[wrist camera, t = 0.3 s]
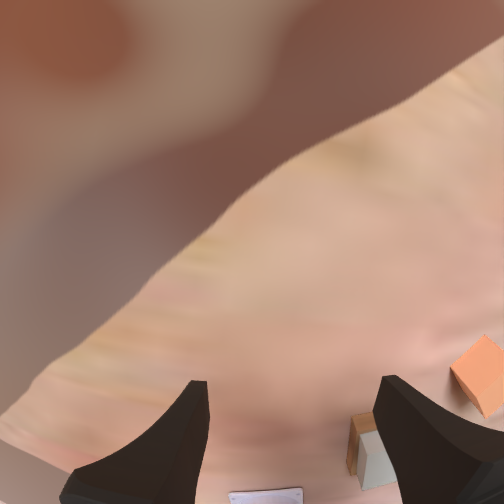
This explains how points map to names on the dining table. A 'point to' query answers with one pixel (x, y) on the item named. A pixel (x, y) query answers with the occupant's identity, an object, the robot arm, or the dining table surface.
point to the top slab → (373, 462)
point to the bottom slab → (358, 437)
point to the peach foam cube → (482, 375)
